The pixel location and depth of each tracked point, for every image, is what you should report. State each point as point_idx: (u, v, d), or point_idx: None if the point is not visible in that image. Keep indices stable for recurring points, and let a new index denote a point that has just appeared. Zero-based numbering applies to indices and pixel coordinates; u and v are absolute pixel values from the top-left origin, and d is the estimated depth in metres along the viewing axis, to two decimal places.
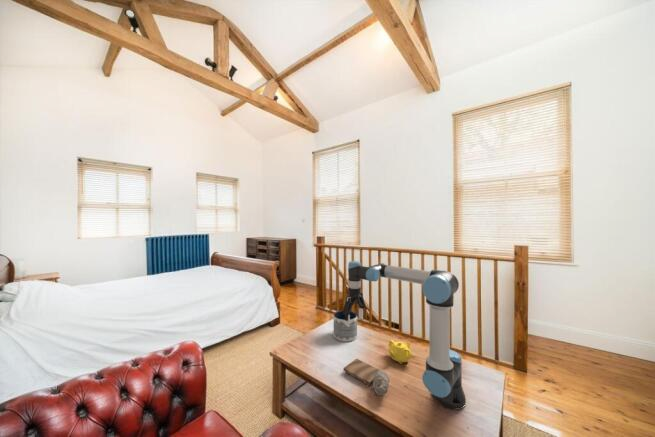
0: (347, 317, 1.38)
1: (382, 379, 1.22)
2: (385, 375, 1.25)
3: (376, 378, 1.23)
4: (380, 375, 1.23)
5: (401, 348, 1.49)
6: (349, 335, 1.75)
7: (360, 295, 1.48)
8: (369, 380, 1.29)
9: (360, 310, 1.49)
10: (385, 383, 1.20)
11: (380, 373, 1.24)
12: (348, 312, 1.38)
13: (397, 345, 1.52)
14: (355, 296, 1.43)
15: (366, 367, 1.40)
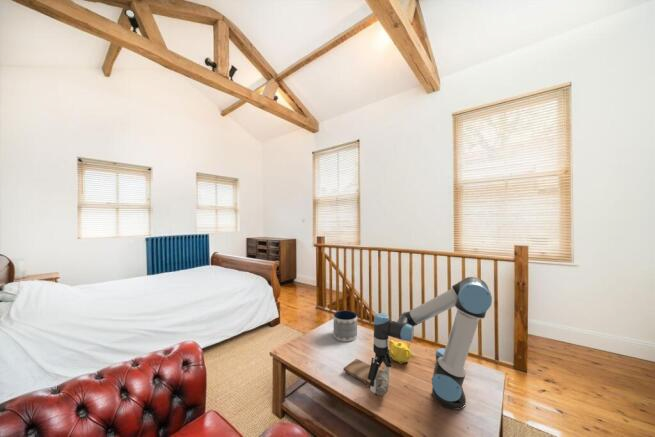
0: (373, 382, 1.18)
1: (382, 379, 1.22)
2: (385, 375, 1.24)
3: (376, 378, 1.22)
4: (380, 375, 1.23)
5: (401, 348, 1.49)
6: (349, 335, 1.75)
7: None
8: (369, 380, 1.29)
9: (386, 369, 1.29)
10: (385, 383, 1.20)
11: (380, 373, 1.24)
12: (374, 376, 1.18)
13: (397, 345, 1.52)
14: (382, 355, 1.23)
15: (366, 367, 1.40)
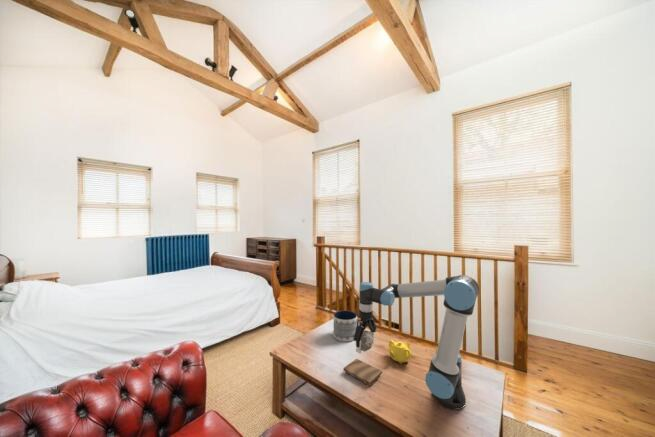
0: (358, 343, 1.29)
1: (367, 337, 1.33)
2: (369, 334, 1.36)
3: (361, 337, 1.33)
4: (365, 334, 1.34)
5: (401, 348, 1.49)
6: (349, 335, 1.75)
7: (371, 318, 1.39)
8: (369, 380, 1.29)
9: (371, 334, 1.40)
10: (369, 340, 1.31)
11: (365, 332, 1.35)
12: (359, 338, 1.29)
13: (397, 345, 1.52)
14: (366, 320, 1.34)
15: (366, 367, 1.40)
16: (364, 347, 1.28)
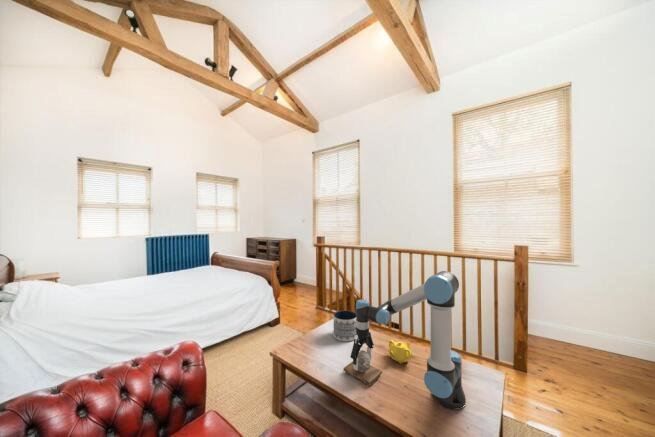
0: (355, 361, 1.32)
1: (364, 358, 1.35)
2: (367, 354, 1.38)
3: (359, 357, 1.36)
4: (362, 354, 1.37)
5: (401, 348, 1.49)
6: (349, 335, 1.75)
7: (368, 335, 1.42)
8: (369, 380, 1.29)
9: (368, 350, 1.43)
10: (367, 361, 1.34)
11: (362, 353, 1.38)
12: (356, 355, 1.32)
13: (397, 345, 1.52)
14: (363, 337, 1.37)
15: None
16: (362, 368, 1.31)
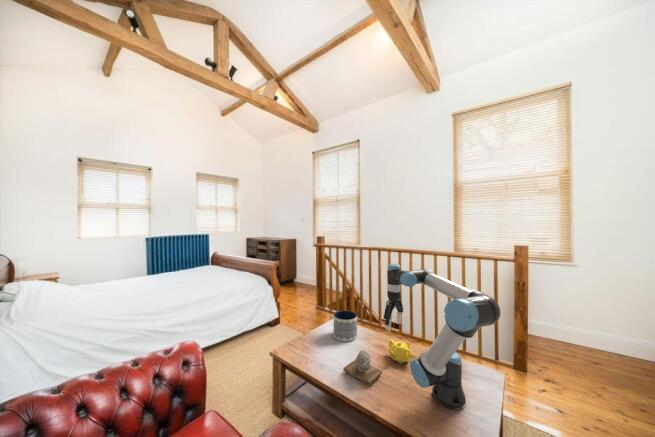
0: (388, 321, 1.35)
1: (364, 358, 1.35)
2: (367, 354, 1.38)
3: (359, 357, 1.36)
4: (362, 354, 1.37)
5: (401, 348, 1.49)
6: (349, 335, 1.75)
7: (399, 299, 1.45)
8: (369, 380, 1.29)
9: (398, 314, 1.46)
10: (367, 361, 1.34)
11: (362, 353, 1.38)
12: (389, 316, 1.35)
13: (397, 345, 1.52)
14: (395, 300, 1.40)
15: None
16: (362, 368, 1.31)
